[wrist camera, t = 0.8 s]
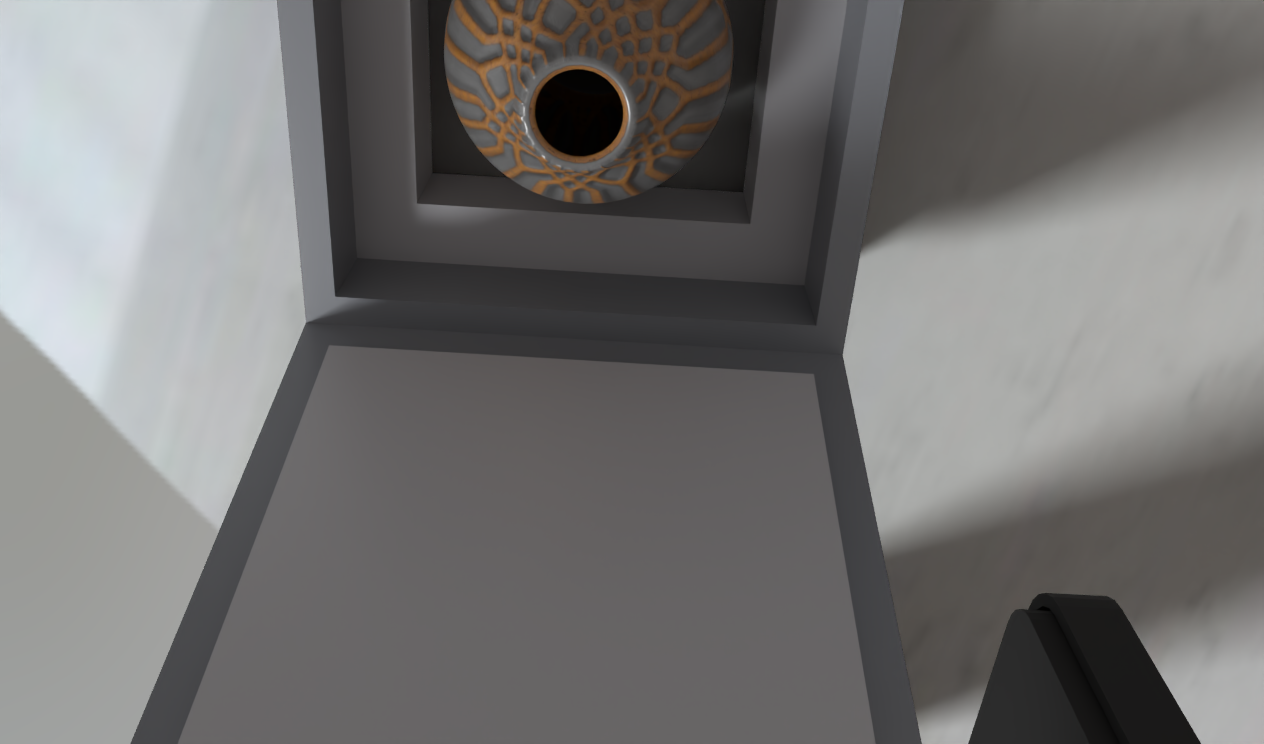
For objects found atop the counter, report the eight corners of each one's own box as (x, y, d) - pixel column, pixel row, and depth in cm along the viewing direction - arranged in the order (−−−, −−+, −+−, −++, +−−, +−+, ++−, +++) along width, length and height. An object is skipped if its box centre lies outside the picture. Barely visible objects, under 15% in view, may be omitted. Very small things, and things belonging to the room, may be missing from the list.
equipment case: (905, -295, 26) (958, -305, 22) (816, 276, 33) (842, 354, 29) (312, -338, 26) (244, -357, 22) (350, 247, 33) (305, 322, 29)
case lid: (845, 339, 29) (970, 930, 17) (835, 383, 30) (947, 972, 18) (303, 307, 28) (55, 884, 17) (310, 353, 29) (82, 929, 18)
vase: (418, 45, 30) (342, 143, 23) (568, -177, 28) (539, -151, 20) (618, 193, 32) (610, 331, 25) (776, 0, 30) (823, 85, 22)
